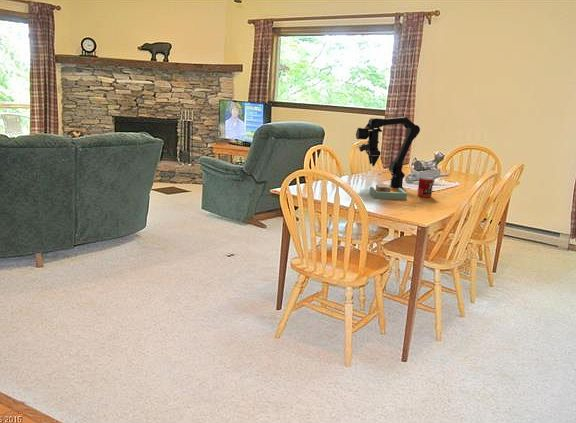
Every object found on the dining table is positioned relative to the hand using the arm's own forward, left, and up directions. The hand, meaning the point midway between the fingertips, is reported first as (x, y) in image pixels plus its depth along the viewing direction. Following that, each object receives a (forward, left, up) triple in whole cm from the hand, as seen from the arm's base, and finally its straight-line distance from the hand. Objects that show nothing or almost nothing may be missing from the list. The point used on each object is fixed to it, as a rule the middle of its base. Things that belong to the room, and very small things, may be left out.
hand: (371, 165), depth 320 cm
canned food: (-27, +23, -13) cm, 38 cm away
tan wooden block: (-5, +14, -13) cm, 20 cm away
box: (-5, +27, -13) cm, 31 cm away
